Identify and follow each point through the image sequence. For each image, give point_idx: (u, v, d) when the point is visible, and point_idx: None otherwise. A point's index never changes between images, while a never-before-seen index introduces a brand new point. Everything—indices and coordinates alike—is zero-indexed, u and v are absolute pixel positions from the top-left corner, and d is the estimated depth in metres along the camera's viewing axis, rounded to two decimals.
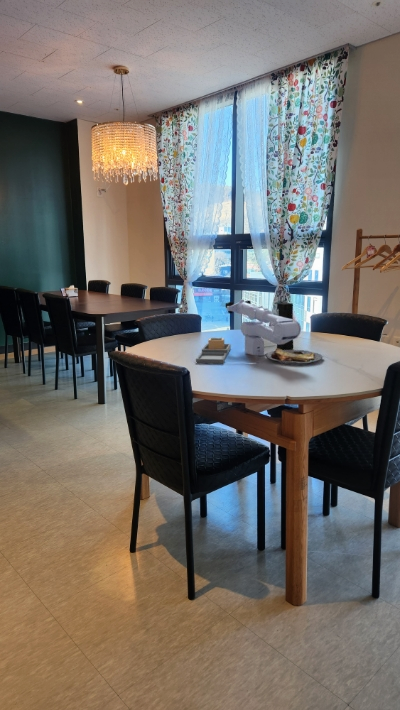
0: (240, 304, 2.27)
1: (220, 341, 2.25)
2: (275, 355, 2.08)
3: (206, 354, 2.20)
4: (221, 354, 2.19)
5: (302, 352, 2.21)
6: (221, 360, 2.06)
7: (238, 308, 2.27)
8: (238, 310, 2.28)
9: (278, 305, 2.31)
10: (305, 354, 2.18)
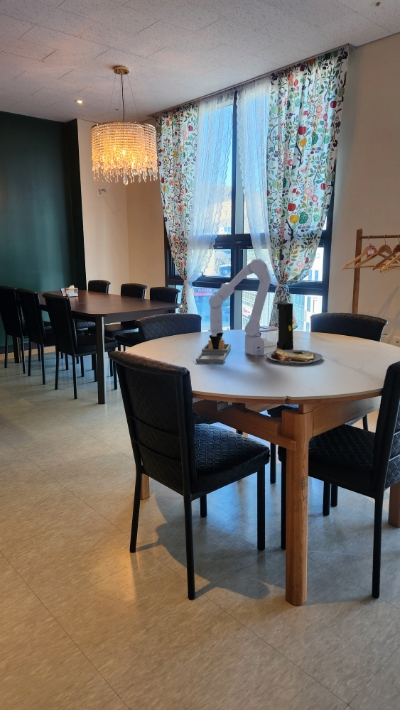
0: (211, 326, 2.24)
1: (220, 341, 2.25)
2: (275, 355, 2.08)
3: (206, 354, 2.20)
4: (221, 354, 2.19)
5: (302, 352, 2.21)
6: (221, 360, 2.06)
7: (215, 327, 2.23)
8: (217, 327, 2.23)
9: (278, 305, 2.31)
10: (305, 354, 2.18)
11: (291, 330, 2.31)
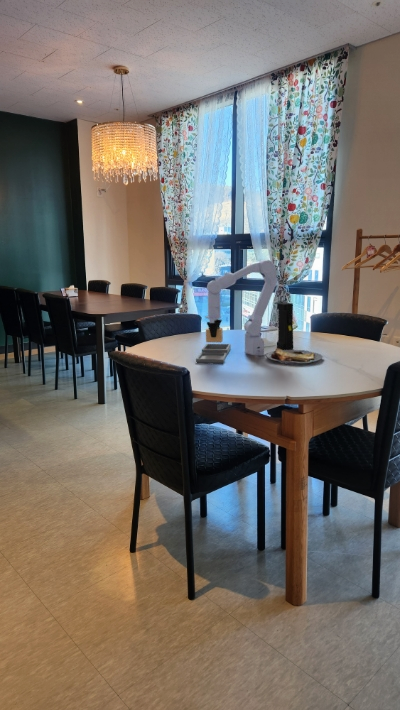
0: (209, 313, 2.18)
1: (218, 330, 2.18)
2: (275, 355, 2.08)
3: (206, 354, 2.20)
4: (221, 354, 2.19)
5: (302, 352, 2.21)
6: (221, 360, 2.06)
7: (213, 314, 2.17)
8: (215, 314, 2.17)
9: (278, 305, 2.31)
10: (305, 354, 2.18)
11: (291, 330, 2.31)
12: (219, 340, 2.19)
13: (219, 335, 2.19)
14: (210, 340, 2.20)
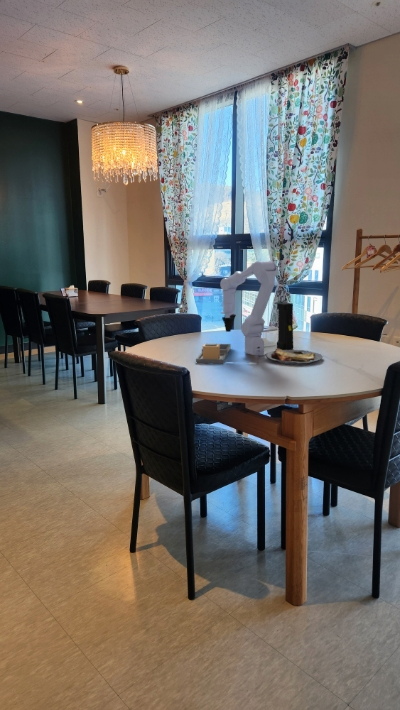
0: (224, 308, 2.32)
1: (215, 347, 2.10)
2: (275, 355, 2.08)
3: None
4: (221, 354, 2.19)
5: (302, 352, 2.21)
6: (221, 360, 2.06)
7: (228, 309, 2.31)
8: (230, 309, 2.31)
9: (278, 305, 2.31)
10: (305, 354, 2.18)
11: (291, 330, 2.31)
12: (216, 357, 2.11)
13: (216, 352, 2.10)
14: (207, 357, 2.12)
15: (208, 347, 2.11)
